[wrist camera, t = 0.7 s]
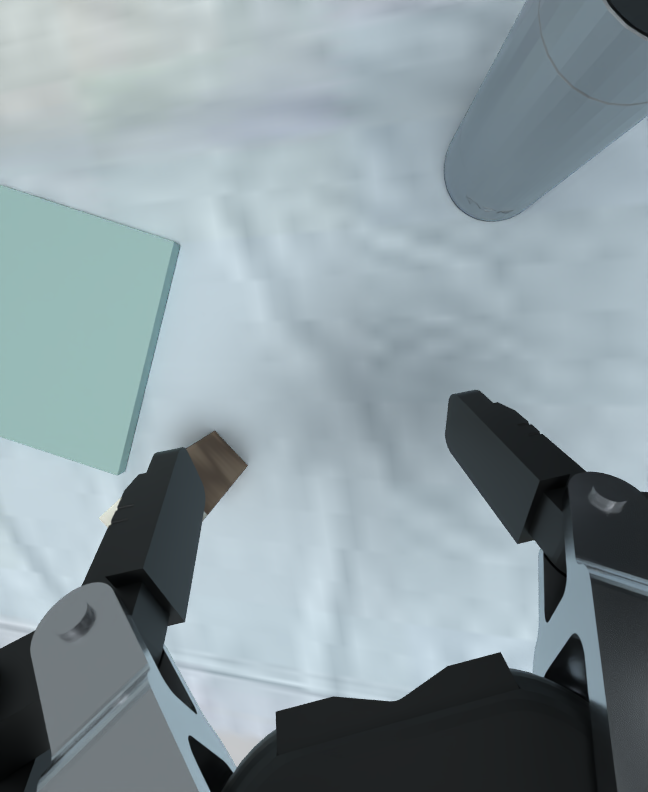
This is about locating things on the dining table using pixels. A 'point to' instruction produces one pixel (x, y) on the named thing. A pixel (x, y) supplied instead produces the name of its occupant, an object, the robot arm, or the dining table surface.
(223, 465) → the brown tall square block
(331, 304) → the dining table surface
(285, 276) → the dining table surface
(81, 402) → the sage board
